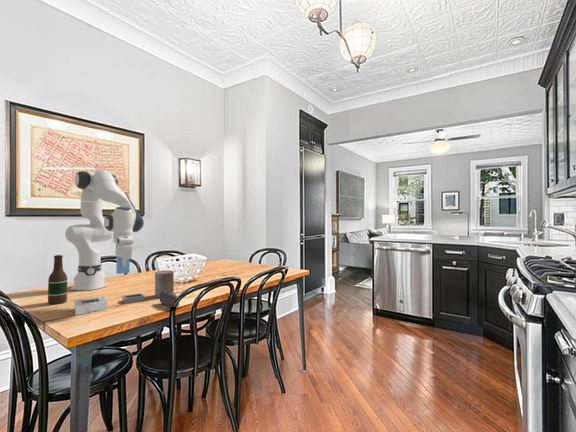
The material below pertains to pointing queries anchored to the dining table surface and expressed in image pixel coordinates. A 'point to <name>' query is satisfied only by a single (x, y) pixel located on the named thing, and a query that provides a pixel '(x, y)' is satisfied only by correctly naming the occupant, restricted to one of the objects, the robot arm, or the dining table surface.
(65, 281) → the beer bottle
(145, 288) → the dining table surface
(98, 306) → the block
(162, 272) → the pillar candle
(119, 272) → the plug
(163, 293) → the perforated stone tool
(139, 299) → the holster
